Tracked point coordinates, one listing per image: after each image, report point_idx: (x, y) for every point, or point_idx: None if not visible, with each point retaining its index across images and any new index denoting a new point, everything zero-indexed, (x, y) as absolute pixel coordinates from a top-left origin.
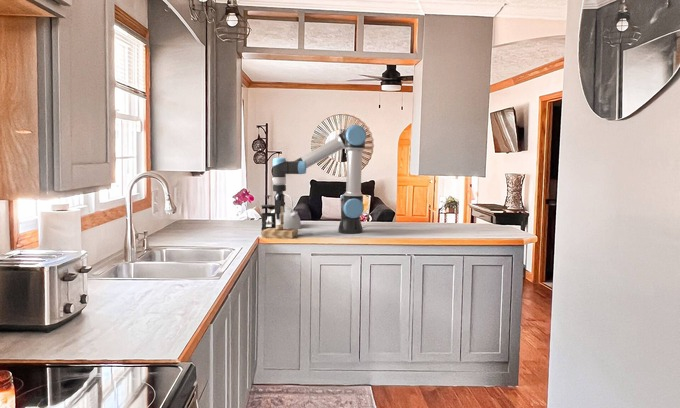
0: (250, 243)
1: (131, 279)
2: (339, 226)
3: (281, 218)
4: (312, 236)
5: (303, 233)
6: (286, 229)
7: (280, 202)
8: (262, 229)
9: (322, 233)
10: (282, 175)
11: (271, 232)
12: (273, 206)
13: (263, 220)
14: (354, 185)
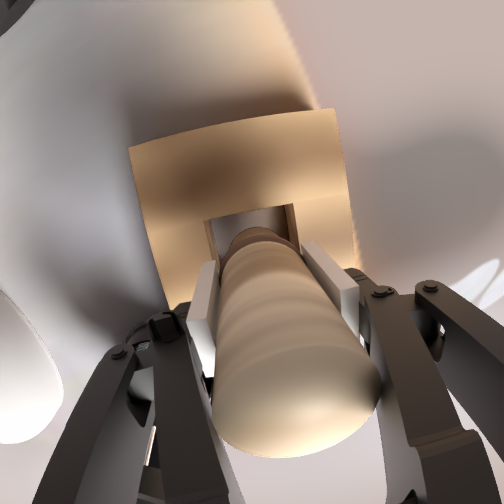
0: (476, 274)
1: None
2: (3, 6)
3: (301, 262)
4: (174, 35)
5: (72, 156)
6: (222, 210)
7: (435, 431)
8: (209, 394)
9: (50, 56)
10: None
11: None
12: (139, 489)
13: None
14: None
